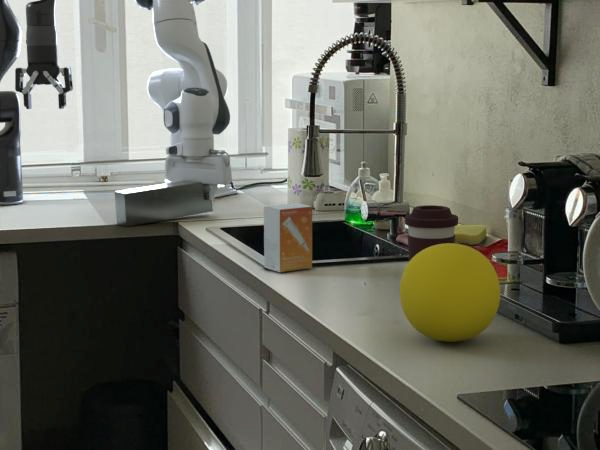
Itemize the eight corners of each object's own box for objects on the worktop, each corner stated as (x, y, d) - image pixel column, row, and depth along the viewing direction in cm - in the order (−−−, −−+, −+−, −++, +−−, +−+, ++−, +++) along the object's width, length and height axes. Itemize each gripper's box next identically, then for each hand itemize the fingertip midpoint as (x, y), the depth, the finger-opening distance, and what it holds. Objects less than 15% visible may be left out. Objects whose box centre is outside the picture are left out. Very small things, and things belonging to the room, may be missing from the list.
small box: (280, 273, 210) (279, 209, 208) (263, 267, 216) (262, 205, 213) (313, 268, 215) (312, 205, 213) (296, 263, 220) (295, 202, 218)
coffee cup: (400, 280, 202) (400, 204, 200) (450, 279, 203) (451, 203, 201) (409, 292, 193) (410, 212, 190) (462, 291, 193) (463, 211, 191)
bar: (126, 226, 269) (124, 193, 267) (116, 223, 273) (114, 191, 271) (213, 211, 285) (211, 180, 283) (202, 208, 289) (200, 178, 287)
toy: (466, 322, 171) (468, 232, 169) (517, 346, 157) (519, 249, 155) (383, 332, 166) (383, 239, 164) (428, 358, 152) (429, 257, 150)
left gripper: (74, 43, 266) (76, 107, 269) (19, 44, 267) (23, 108, 270) (64, 43, 259) (67, 109, 261) (9, 44, 260) (12, 109, 263)
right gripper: (236, 149, 279) (237, 200, 282) (175, 146, 290) (176, 195, 292) (222, 151, 274) (223, 203, 276) (160, 148, 285) (162, 198, 287)
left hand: (45, 108), depth 266 cm, fingers open, 8 cm apart
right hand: (198, 199), depth 284 cm, fingers closed on bar, 6 cm apart
